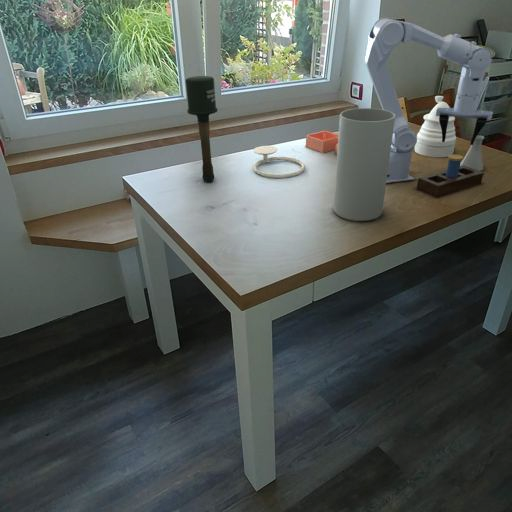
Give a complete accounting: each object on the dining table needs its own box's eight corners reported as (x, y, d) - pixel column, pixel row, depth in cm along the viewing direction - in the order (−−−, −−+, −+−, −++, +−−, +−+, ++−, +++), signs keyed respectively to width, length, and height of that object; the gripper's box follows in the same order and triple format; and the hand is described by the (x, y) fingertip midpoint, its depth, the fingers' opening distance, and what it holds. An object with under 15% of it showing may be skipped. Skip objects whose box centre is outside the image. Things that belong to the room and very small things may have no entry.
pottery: (305, 146, 162) (306, 119, 156) (324, 141, 166) (325, 115, 161) (341, 159, 149) (343, 130, 144) (360, 153, 154) (363, 125, 149)
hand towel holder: (272, 169, 131) (237, 151, 146) (272, 183, 133) (238, 164, 148) (316, 157, 138) (278, 141, 153) (315, 170, 141) (278, 153, 156)
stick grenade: (218, 186, 132) (210, 81, 116) (191, 185, 134) (179, 81, 118) (225, 176, 139) (218, 75, 123) (199, 174, 141) (189, 75, 125)
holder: (416, 189, 126) (418, 177, 124) (460, 176, 133) (463, 165, 132) (436, 197, 121) (438, 186, 119) (480, 183, 128) (483, 172, 126)
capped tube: (447, 189, 125) (453, 159, 120) (439, 184, 128) (445, 155, 123) (459, 188, 126) (466, 158, 121) (451, 183, 129) (457, 153, 124)
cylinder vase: (348, 197, 122) (356, 105, 109) (390, 209, 115) (404, 112, 102) (324, 214, 114) (330, 116, 101) (368, 227, 107) (380, 124, 94)
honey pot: (406, 149, 156) (414, 96, 147) (434, 143, 161) (443, 92, 151) (433, 159, 146) (443, 104, 137) (461, 153, 151) (473, 99, 141)
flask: (480, 173, 134) (488, 141, 129) (455, 169, 138) (462, 138, 133) (486, 166, 139) (494, 135, 134) (462, 162, 143) (469, 132, 138)
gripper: (497, 92, 121) (485, 141, 129) (441, 89, 127) (432, 136, 134) (496, 98, 116) (484, 148, 123) (438, 94, 121) (430, 142, 129)
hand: (457, 142), depth 128 cm, fingers open, 7 cm apart
